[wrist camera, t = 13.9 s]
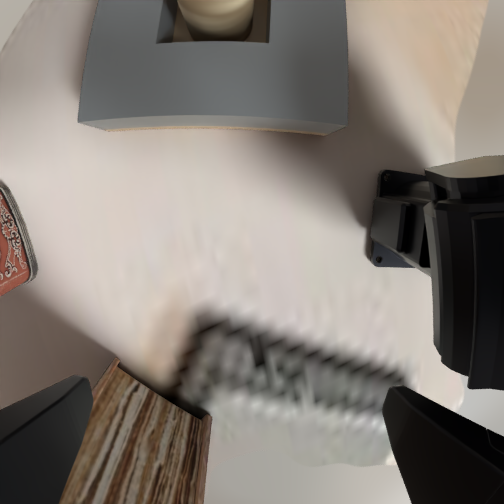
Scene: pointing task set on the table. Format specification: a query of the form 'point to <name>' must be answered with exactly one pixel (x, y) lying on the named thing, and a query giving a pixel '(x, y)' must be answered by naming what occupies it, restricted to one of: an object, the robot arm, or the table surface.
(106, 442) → the book
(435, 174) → the robot arm
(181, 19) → the grey square-holed block
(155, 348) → the table surface
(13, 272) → the lighter
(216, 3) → the wooden pin
